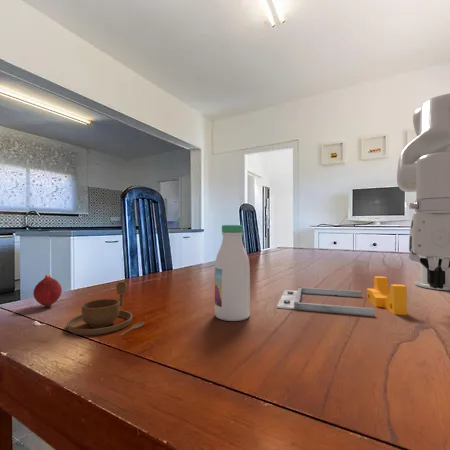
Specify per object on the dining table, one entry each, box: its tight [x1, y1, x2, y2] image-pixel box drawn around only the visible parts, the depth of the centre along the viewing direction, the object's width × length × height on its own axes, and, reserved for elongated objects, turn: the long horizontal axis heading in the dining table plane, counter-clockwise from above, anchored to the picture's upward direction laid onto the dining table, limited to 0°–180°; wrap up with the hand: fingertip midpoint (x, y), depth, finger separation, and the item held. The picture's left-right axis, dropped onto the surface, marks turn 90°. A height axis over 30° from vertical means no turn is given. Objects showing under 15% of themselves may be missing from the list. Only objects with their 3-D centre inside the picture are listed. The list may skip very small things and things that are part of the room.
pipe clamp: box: [366, 275, 408, 316], centre depth 68 cm, size 12×4×6 cm, turn 171°
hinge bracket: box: [276, 286, 375, 317], centre depth 73 cm, size 18×21×2 cm
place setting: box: [66, 281, 145, 336], centre depth 60 cm, size 18×20×6 cm
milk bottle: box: [214, 224, 251, 322], centre depth 61 cm, size 8×8×20 cm
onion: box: [32, 273, 63, 308], centre depth 69 cm, size 6×6×8 cm
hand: (436, 287), depth 64 cm, fingers closed
